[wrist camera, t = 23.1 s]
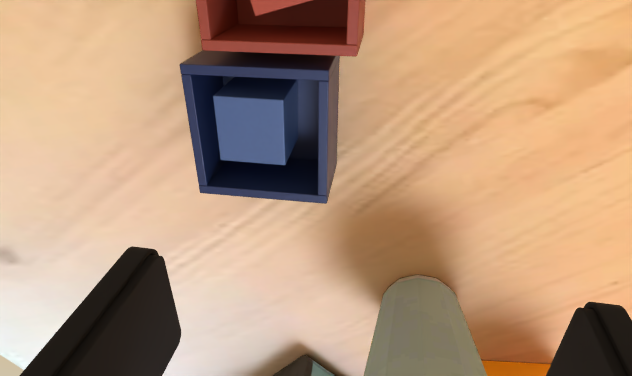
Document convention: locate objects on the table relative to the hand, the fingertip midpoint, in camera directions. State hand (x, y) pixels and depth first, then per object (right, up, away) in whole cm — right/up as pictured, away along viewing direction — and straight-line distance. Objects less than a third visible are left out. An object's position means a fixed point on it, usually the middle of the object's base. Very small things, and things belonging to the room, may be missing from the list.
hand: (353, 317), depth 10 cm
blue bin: (-4, +9, +21) cm, 23 cm away
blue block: (-4, +9, +21) cm, 23 cm away
